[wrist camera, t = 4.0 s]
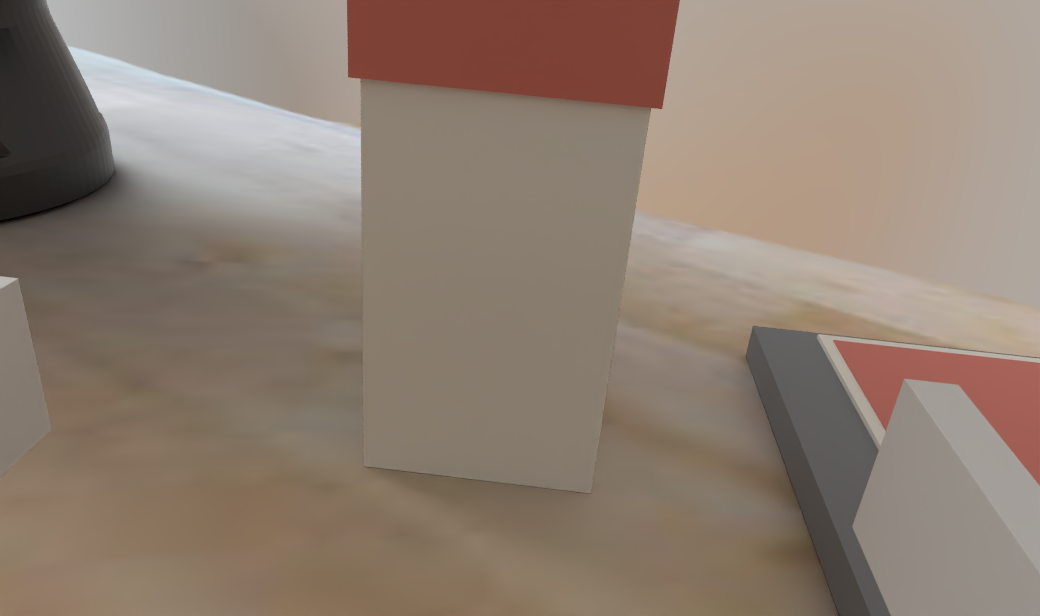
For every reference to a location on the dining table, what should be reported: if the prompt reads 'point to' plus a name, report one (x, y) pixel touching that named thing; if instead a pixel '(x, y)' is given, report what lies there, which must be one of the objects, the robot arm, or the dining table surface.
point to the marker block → (498, 225)
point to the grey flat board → (870, 427)
